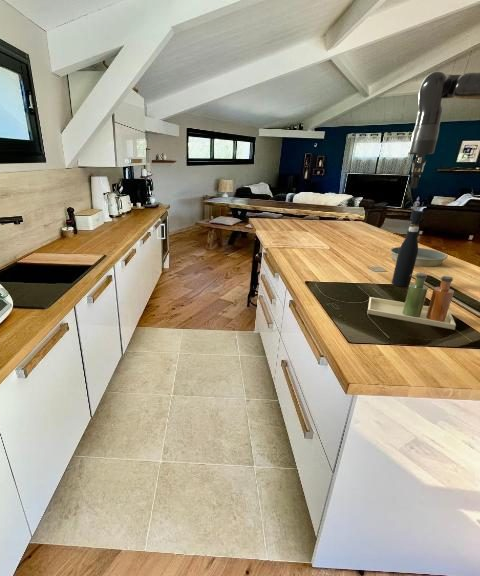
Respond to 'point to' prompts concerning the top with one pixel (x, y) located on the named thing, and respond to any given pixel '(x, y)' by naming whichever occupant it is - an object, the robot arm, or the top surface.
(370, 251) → the top surface
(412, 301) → the olive bottle
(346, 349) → the top surface
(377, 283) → the top surface
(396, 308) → the tray
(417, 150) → the robot arm
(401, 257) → the dark grey bottle
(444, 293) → the amber oil bottle
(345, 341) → the top surface
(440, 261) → the cake pan
